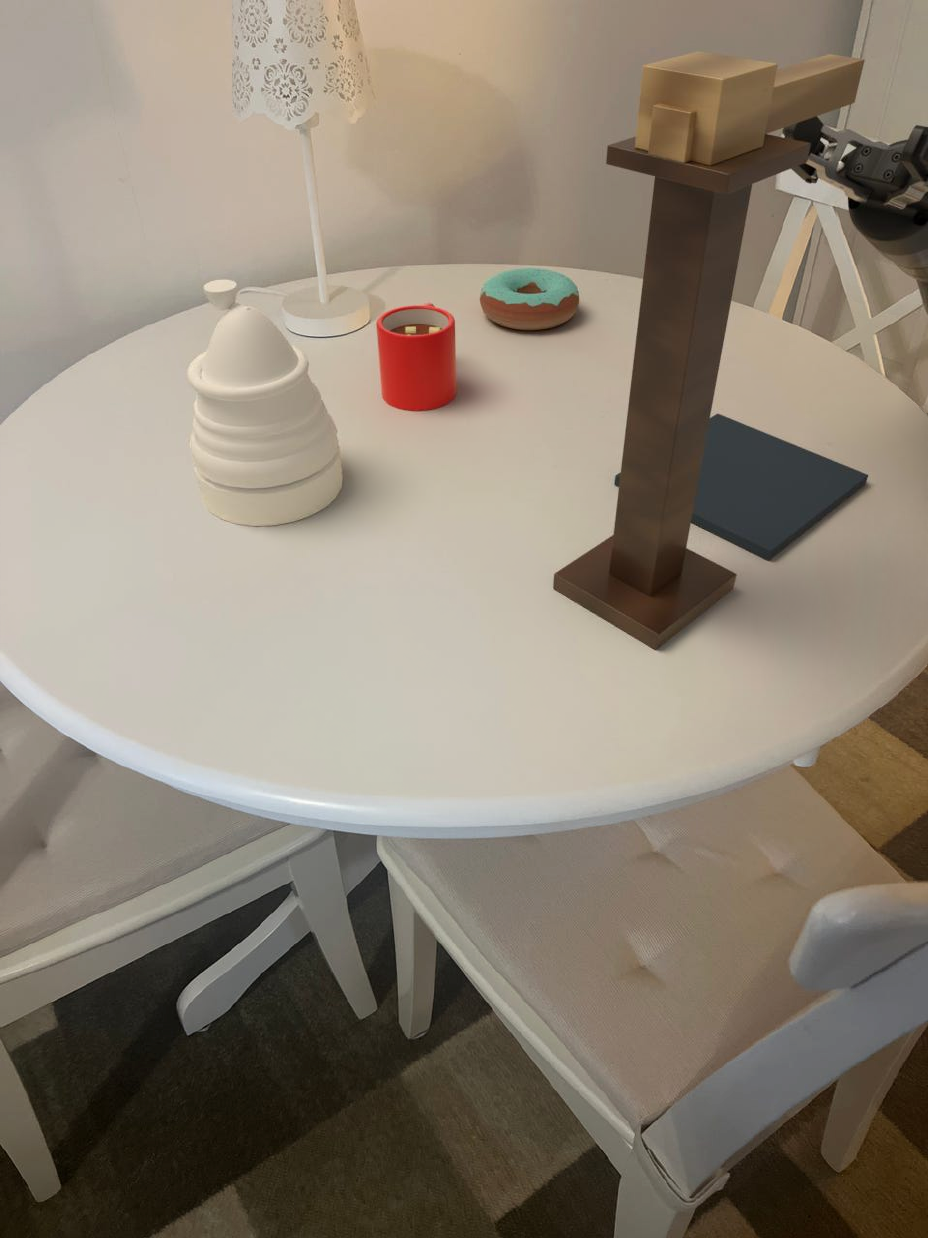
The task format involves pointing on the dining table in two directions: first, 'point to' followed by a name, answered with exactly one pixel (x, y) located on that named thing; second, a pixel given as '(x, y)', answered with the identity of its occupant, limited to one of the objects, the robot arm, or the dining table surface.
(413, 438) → the dining table surface
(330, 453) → the honey pot
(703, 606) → the brown pedestal stand
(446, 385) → the mug
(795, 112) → the light wood mallet shape
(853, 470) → the mat
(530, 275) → the donut
